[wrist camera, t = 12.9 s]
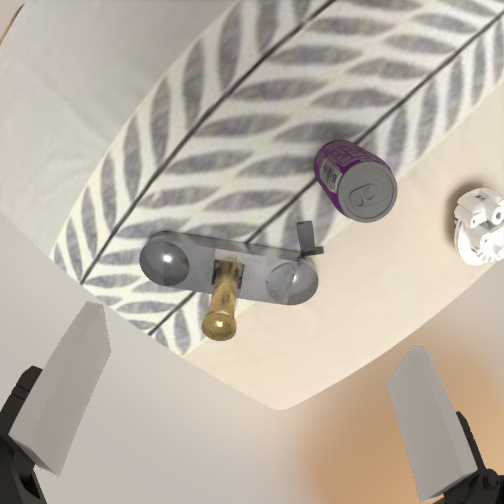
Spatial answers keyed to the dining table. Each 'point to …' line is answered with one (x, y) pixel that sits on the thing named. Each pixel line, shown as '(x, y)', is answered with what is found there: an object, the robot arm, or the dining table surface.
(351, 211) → the beverage can
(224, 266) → the pin
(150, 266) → the slotted metal plate
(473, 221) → the mechanical part
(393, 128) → the dining table surface
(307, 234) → the dark grey l-shaped bracket
